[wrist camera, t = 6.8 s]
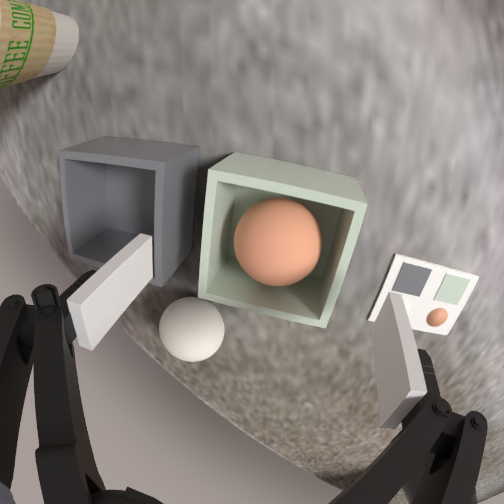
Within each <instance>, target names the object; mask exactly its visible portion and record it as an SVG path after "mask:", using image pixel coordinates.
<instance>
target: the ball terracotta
mask: <svg viewBox="0 0 504 504" xmlns="http://www.w3.org/2000/svg"><path fill="white" fill-rule="evenodd" d="M234 249H235V254H236V257H237V260H238V262H239V264H240V265H241V267H242V268H243V270H244V271H245V272H246V273H247V274H248V275H249V276H250V277H252V278H253V279H254V280H256V281H258V282H260V283H263V284H266V285H270V286H287V285H291V284H294V283H296V282H298V281H300V280H302V279H303V278H305V277H306V276H307V275H308V274H309V273H310V272H311V271H312V270H313V269H314V267H315V266H316V264H317V262H318V260H319V258H320V255H321V251H322V233H321V229H320V226H319V224H318V222H317V220H316V218H315V217H314V216H313V214H312V213H311V212H310V211H309V210H308V209H307V208H306V207H304V206H303V205H301V204H300V203H298V202H296V201H293V200H290V199H286V198H270V199H266V200H263V201H260V202H258V203H256V204H255V205H253V206H252V207H250V208H249V209H248V210H247V211H246V212H245V213H244V215H243V216H242V217H241V219H240V221H239V222H238V225H237V227H236V230H235V235H234Z"/></svg>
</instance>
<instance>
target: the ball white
mask: <svg viewBox="0 0 504 504" xmlns="http://www.w3.org/2000/svg"><path fill="white" fill-rule="evenodd" d="M159 333H160V337H161V340H162V343H163V345H164V346H165V348H166V349H167V350H168V351H169V352H170V353H171V354H172V355H173V356H175V357H177V358H179V359H181V360H184V361H190V362H195V361H201V360H204V359H206V358H208V357H210V356H211V355H213V354H214V353H215V352H216V351H217V350H218V348H219V347H220V345H221V343H222V341H223V337H224V322H223V319H222V317H221V315H220V313H219V311H218V310H217V309H216V307H215V306H213V305H212V304H211V303H210V302H208V301H206V300H204V299H201V298H198V297H184V298H181V299H178V300H176V301H174V302H173V303H171V304H170V305H169V306H168V307H167V308H166V309H165V311H164V313H163V314H162V317H161V319H160V324H159Z"/></svg>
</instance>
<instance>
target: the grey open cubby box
mask: <svg viewBox="0 0 504 504" xmlns="http://www.w3.org/2000/svg"><path fill="white" fill-rule="evenodd" d="M199 152H200V147H199V146H192V145H184V144H177V143H168V142H160V141H151V140H141V139H131V138H119V137H106V136H105V137H101V138H98V139H94V140H91V141H87V142H84V143H81V144H78V145H74V146H71V147H68V148H65V149H62V150H59V166H60V184H61V197H62V208H63V218H64V226H65V234H66V241H67V248H68V254H69V258H70V259H73V260H76V261H79V262H82V263H85V264H88V265H91V266H94V267H97V268H101V267H102V266H103V265H105V264H106V263H107V262H108V261H109V260H110V259H111V258H112V257H113V256H115V255H116V254H117V253H118V252H119V251H120V250H121V249H123V248H124V247H125V246H126V245H127V244H128V243H130V242H131V241H132V240H133V239H134V238H135V237H137V236H138V235H139V234H140V233H141V234H145V235H149V236H152V265H153V278H152V279H151V280H150V281H149V282H148V283H149V284H152V285H156V286H159V287H163V286H164V285H165V283H166V282H167V281H168V279H169V278H170V277H171V276H172V274H173V273H174V272H175V271H176V269H177V268H178V267H179V265H180V264H181V263H182V262H183V260H184V259H185V258H186V257H187V255H188V254H189V253H190V252H191V250H192V235H193V220H194V207H195V195H196V183H197V172H198V162H199Z"/></svg>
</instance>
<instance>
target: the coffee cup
mask: <svg viewBox="0 0 504 504" xmlns="http://www.w3.org/2000/svg"><path fill="white" fill-rule="evenodd" d="M78 41H79V28H78V25H77V23H76V21H75V20H74V19H73V18H72V17H69V16H66V15H63V14H59V13H56V12H53V11H50V10H49V9H48V8H44V7H41V6H37V5H33V4H30V3H26V2H22V1H17V0H0V89H2V88H5V87H8V86H11V85H15V84H18V83H22V82H25V81H29V80H31V79H33V78H36V77H40V76H45V75H49V74H54V73H57V72H59V71H61V70H62V69H64V68H65V67H66V66H67V65H68V63H69V62H70V61H71V59H72V58H73V56H74V54H75V51H76V49H77V45H78Z"/></svg>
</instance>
